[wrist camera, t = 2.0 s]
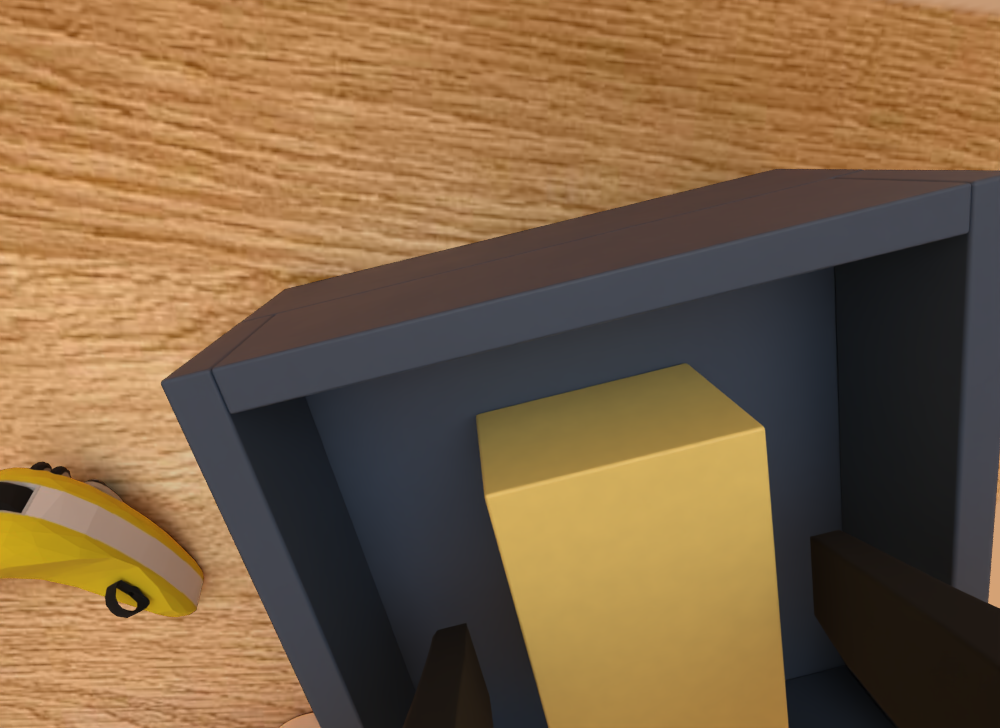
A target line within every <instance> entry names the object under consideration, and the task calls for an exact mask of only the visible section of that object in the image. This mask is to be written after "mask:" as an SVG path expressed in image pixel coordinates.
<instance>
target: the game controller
mask: <svg viewBox="0 0 1000 728" xmlns="http://www.w3.org/2000/svg"><path fill="white" fill-rule="evenodd" d="M0 578H21V579H42V580H47V581H51V582H56V583H61V584H65V585H70V586H75V587H78V588H81V589H84V590H87V591H90V592H93V593H96V594H99V595H101V596H104V597H105V600H106V606H107V607H108V608H109V610H110V611H111V612H112V613H113V614H115V615H116V616H118V617H125V618H128V617H130V616H132V615H134V614H136V613H138V612H140V611H142V610H146V611H149V612H152V613H155V614H159V615H163V616H168V617H180V616H185V615H190V614H191V613H193V612H195V611H196V610H197V605H198V601H199V597H200V593H201V589H202V585H203V580H204V577H203V573H202V570H201V569H200V567H199V566H198V564H197V563H196V561H195V560H194V559H193V558H192V557H191V556H190V555H189V554H188V553H187V552H186V551H185V550H184V549H183V548H182V547H181V546H180V545H179V544H178V543H177V542H176V541H175V540H174V539H173V538H172V537H171V536H169V535H168V534H167V533H166V532H165V531H163V530H162V529H161V528H160V527H158V526H157V525H156V524H155V523H153V522H152V521H151V520H149V519H148V518H146V517H145V516H143V515H142V514H140V513H139V512H137V511H136V510H134V509H133V508H131V507H130V506H128V505H127V504H125V503H123V501H122V499H121V498H120V497H119V496H118V495H117V494H116V493H115V492H113V491H112V490H111V489H109V488H108V487H107V486H106V485H105V484H104V483H103V482H101V481H99V480H96V479H92V480H89V481H86V482H80V481H78V480H75V479H72V478H71V476H70V472H69V470H67V469H66V468H65V467H62V466H59V467H56V468H54V469H52V468H51V466H50V465H49V464H48V463H45V462H38V463H36V464H35V465H33V466H32V467H31V468H10V469H4V470H0ZM117 601H119V602H122V603H125V604H128V605H131V606H134V607H137V608H136V610H134V611H128V610H125V609H123V608H122V607H121V606H120V605H119V604H118V602H117Z"/></svg>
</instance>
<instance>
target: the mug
mask: <svg viewBox="0 0 1000 728" xmlns="http://www.w3.org/2000/svg"><path fill="white" fill-rule="evenodd" d="M279 728H320V725H319V723H318V721H317V719H316V717H315V715H314V713H309V714H305V715H301V716H299V717H296V718H294V719H292V720H290V721H288V722H286V723H285V724H283V725H282V726H281V727H279Z"/></svg>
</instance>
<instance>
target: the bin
mask: <svg viewBox="0 0 1000 728" xmlns="http://www.w3.org/2000/svg"><path fill="white" fill-rule="evenodd" d="M684 363H686V364H688V365H690V366H691V367H692V368H693V369H694V370H696V371H697V372H698V373H699V374H701V375H702V376H703V377H704V378H705V379H707V380H708V381H709V382H710V383H711V384H713V385H714V386H715V387H716V388H718V389H719V390H720V391H721V392H722V393H724V394H725V395H726V396H727V397H728V398H730V399H731V400H732V401H733V402H735V403H736V404H737V405H738V406H739V407H741V408H742V409H743V410H744V411H745V412H747V413H748V414H749V415H750V416H752V417H753V418H754V419H755V420H756V421H758V422H759V423H760V424H761V425H762V426H763V427H764V428H765V436H766V448H767V461H768V473H769V486H770V499H771V511H772V524H773V536H774V549H775V562H776V574H777V587H778V599H779V612H780V624H781V637H782V650H783V662H784V675H785V687H786V700H787V713H788V725H789V728H898V727H897V725H896V724H895V723H894V722H893V721H892V719H891V718H890V717H889V716H888V715H887V713H886V712H885V711H884V710H883V708H882V707H881V706H880V705H879V704H878V702H877V701H876V700H875V699H874V698H873V696H872V695H871V694H870V693H869V691H868V690H867V689H866V688H865V687H864V685H863V684H862V683H861V682H860V680H859V679H858V678H857V677H856V675H855V674H854V673H853V672H852V670H851V669H850V668H849V667H848V665H847V664H846V663H845V661H844V660H843V658H842V657H841V655H840V654H839V652H838V651H837V649H836V648H835V646H834V645H833V644H832V642H831V640H830V639H829V637H828V636H827V634H826V633H825V631H824V629H823V628H822V626H821V625H820V623H819V622H818V620H817V618H816V617H815V615H814V602H813V583H812V565H811V546H810V537H811V536H815V535H819V534H823V533H827V532H831V531H835V530H841V531H843V532H845V533H847V534H849V535H851V536H853V537H855V538H857V539H859V540H861V541H863V542H865V543H867V544H869V545H871V546H873V547H875V548H877V549H879V550H881V551H883V552H885V553H887V554H889V555H891V556H893V557H895V558H897V559H898V560H900V561H902V562H904V563H906V564H908V565H910V566H912V567H914V568H916V569H918V570H920V571H922V572H924V573H926V574H928V575H930V576H932V577H934V578H936V579H938V580H940V581H942V582H944V583H946V584H948V585H950V586H952V587H955V588H957V589H959V590H961V591H963V592H965V593H967V594H969V595H971V596H973V597H976V598H978V599H980V600H982V601H984V602H986V603H988V597H989V584H990V571H991V558H992V544H993V532H994V519H995V506H996V493H997V480H998V467H999V454H1000V171H979V170H846V169H775V170H770V171H766V172H762V173H758V174H754V175H750V176H746V177H742V178H738V179H734V180H730V181H725V182H721V183H717V184H713V185H709V186H705V187H701V188H697V189H693V190H689V191H685V192H681V193H676V194H672V195H668V196H664V197H660V198H656V199H652V200H648V201H644V202H640V203H636V204H631V205H627V206H623V207H619V208H615V209H611V210H607V211H603V212H599V213H595V214H591V215H587V216H582V217H578V218H574V219H570V220H566V221H562V222H558V223H554V224H550V225H546V226H542V227H537V228H533V229H529V230H525V231H521V232H517V233H513V234H509V235H505V236H501V237H497V238H493V239H488V240H484V241H480V242H476V243H472V244H468V245H464V246H460V247H456V248H452V249H448V250H443V251H439V252H435V253H431V254H427V255H423V256H419V257H415V258H411V259H407V260H403V261H399V262H394V263H390V264H386V265H382V266H378V267H374V268H370V269H366V270H362V271H358V272H354V273H349V274H345V275H341V276H337V277H333V278H329V279H325V280H321V281H317V282H313V283H309V284H305V285H300V286H296V287H292V288H288V289H285V290H283V291H282V292H281V293H279V294H278V295H277V296H275V297H274V298H273V299H271V300H270V301H269V302H267V303H266V304H265V305H263V306H262V307H261V308H259V309H258V310H257V311H255V312H254V313H253V314H251V315H250V316H249V317H247V318H246V319H245V320H243V321H242V322H241V323H239V324H238V325H236V326H235V327H234V328H232V329H231V330H230V331H228V332H227V333H225V334H224V335H223V336H221V337H220V338H219V339H217V340H216V341H215V342H213V343H212V344H211V345H209V346H208V347H207V348H205V349H204V350H203V351H201V352H200V353H199V354H197V355H196V356H195V357H193V358H192V359H191V360H189V361H188V362H187V363H185V364H184V365H183V366H181V367H180V368H179V369H177V370H176V371H175V372H173V373H172V374H171V375H169V376H168V377H167V378H165V379H164V380H163V381H161V385H162V387H163V390H164V392H165V394H166V396H167V398H168V400H169V403H170V405H171V407H172V409H173V411H174V413H175V415H176V418H177V420H178V422H179V424H180V426H181V428H182V431H183V433H184V435H185V437H186V439H187V441H188V443H189V446H190V448H191V450H192V452H193V454H194V456H195V459H196V461H197V463H198V465H199V467H200V469H201V471H202V474H203V476H204V478H205V480H206V482H207V484H208V486H209V489H210V491H211V493H212V495H213V497H214V499H215V502H216V504H217V506H218V508H219V510H220V512H221V514H222V517H223V519H224V521H225V523H226V525H227V527H228V530H229V532H230V534H231V536H232V538H233V540H234V542H235V545H236V547H237V549H238V551H239V553H240V555H241V558H242V560H243V562H244V564H245V566H246V568H247V570H248V573H249V575H250V577H251V579H252V581H253V583H254V585H255V588H256V590H257V592H258V594H259V596H260V598H261V601H262V603H263V605H264V607H265V609H266V611H267V613H268V616H269V618H270V620H271V622H272V624H273V626H274V629H275V631H276V633H277V635H278V637H279V639H280V641H281V644H282V646H283V648H284V650H285V652H286V654H287V657H288V659H289V661H290V663H291V665H292V667H293V669H294V672H295V674H296V676H297V678H298V680H299V682H300V685H301V687H302V689H303V691H304V693H305V695H306V697H307V700H308V702H309V704H310V706H311V708H312V710H313V712H314V715H315V717H316V719H317V721H318V723H319V725H320V728H402V727H403V725H404V722H405V719H406V717H407V714H408V711H409V709H410V706H411V704H412V701H413V698H414V696H415V693H416V690H417V687H418V684H419V681H420V678H421V675H422V672H423V669H424V666H425V663H426V660H427V656H428V653H429V649H430V646H431V642H432V638H433V635H434V634H435V633H436V631H437V630H440V629H444V628H448V627H452V626H456V625H460V624H464V623H466V624H467V627H468V630H469V633H470V636H471V639H472V642H473V646H474V649H475V652H476V655H477V658H478V661H479V664H480V668H481V671H482V674H483V677H484V680H485V683H486V687H487V690H488V693H489V696H490V703H491V711H492V719H493V727H494V728H548V725H547V721H546V718H545V714H544V711H543V707H542V703H541V700H540V696H539V693H538V689H537V685H536V682H535V678H534V675H533V671H532V667H531V664H530V660H529V657H528V653H527V649H526V646H525V642H524V639H523V635H522V631H521V628H520V624H519V620H518V617H517V613H516V610H515V606H514V602H513V599H512V595H511V592H510V588H509V584H508V581H507V577H506V574H505V570H504V566H503V563H502V559H501V556H500V552H499V548H498V545H497V541H496V538H495V534H494V530H493V527H492V523H491V520H490V516H489V512H488V509H487V505H486V501H485V498H484V489H483V480H482V470H481V461H480V452H479V443H478V433H477V424H476V415H478V414H481V413H485V412H489V411H494V410H498V409H502V408H506V407H510V406H514V405H518V404H522V403H526V402H530V401H534V400H538V399H542V398H546V397H550V396H554V395H559V394H563V393H567V392H571V391H575V390H579V389H583V388H587V387H591V386H595V385H599V384H603V383H607V382H611V381H615V380H619V379H624V378H628V377H632V376H636V375H640V374H644V373H648V372H652V371H656V370H660V369H664V368H668V367H672V366H676V365H680V364H684Z"/></svg>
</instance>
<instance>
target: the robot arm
mask: <svg viewBox="0 0 1000 728" xmlns="http://www.w3.org/2000/svg"><path fill="white" fill-rule="evenodd" d="M810 546H811V565H812V583H813V602H814V615H815V617H816V618H817V620H818V622H819V623H820V625H821V626H822V628H823V629H824V631H825V633H826V634H827V636H828V637H829V639H830V640H831V642H832V644H833V645H834V646H835V648H836V649H837V651H838V652H839V654H840V655H841V657H842V658H843V660H844V661H845V663H846V664H847V665H848V667H849V668H850V669H851V670H852V672H853V673H854V674H855V675H856V677H857V678H858V679H859V680H860V682H861V683H862V684H863V685H864V687H865V688H866V689H867V690H868V691H869V693H870V694H871V695H872V696H873V698H874V699H875V700H876V701H877V702H878V704H879V705H880V706H881V707H882V708H883V710H884V711H885V712H886V713H887V715H888V716H889V717H890V718H891V719H892V721H893V722H894V723H895V724H896V725H897V727H898V728H1000V608H997V607H995V606H993V605H991V604H988V603H986V602H984V601H982V600H980V599H978V598H976V597H973V596H971V595H969V594H967V593H965V592H963V591H961V590H959V589H957V588H955V587H952V586H950V585H948V584H946V583H944V582H942V581H940V580H938V579H936V578H934V577H932V576H930V575H928V574H926V573H924V572H922V571H920V570H918V569H916V568H914V567H912V566H910V565H908V564H906V563H904V562H902V561H900V560H898V559H897V558H895V557H893V556H891V555H889V554H887V553H885V552H883V551H881V550H879V549H877V548H875V547H873V546H871V545H869V544H867V543H865V542H863V541H861V540H859V539H857V538H855V537H853V536H851V535H849V534H847V533H845V532H843V531H841V530H835V531H831V532H827V533H823V534H819V535H815V536H811V537H810ZM402 728H494V727H493V719H492V711H491V703H490V696H489V693H488V690H487V687H486V683H485V680H484V677H483V674H482V671H481V668H480V664H479V661H478V658H477V655H476V652H475V649H474V646H473V642H472V639H471V636H470V633H469V630H468V627H467V624H466V623H464V624H460V625H456V626H452V627H448V628H444V629H440V630H437V631H436V633H435V634H434V635H433V638H432V642H431V646H430V649H429V653H428V656H427V660H426V663H425V666H424V669H423V672H422V675H421V678H420V681H419V684H418V687H417V690H416V693H415V696H414V698H413V701H412V704H411V706H410V709H409V711H408V714H407V717H406V719H405V722H404V725H403V727H402Z"/></svg>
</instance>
